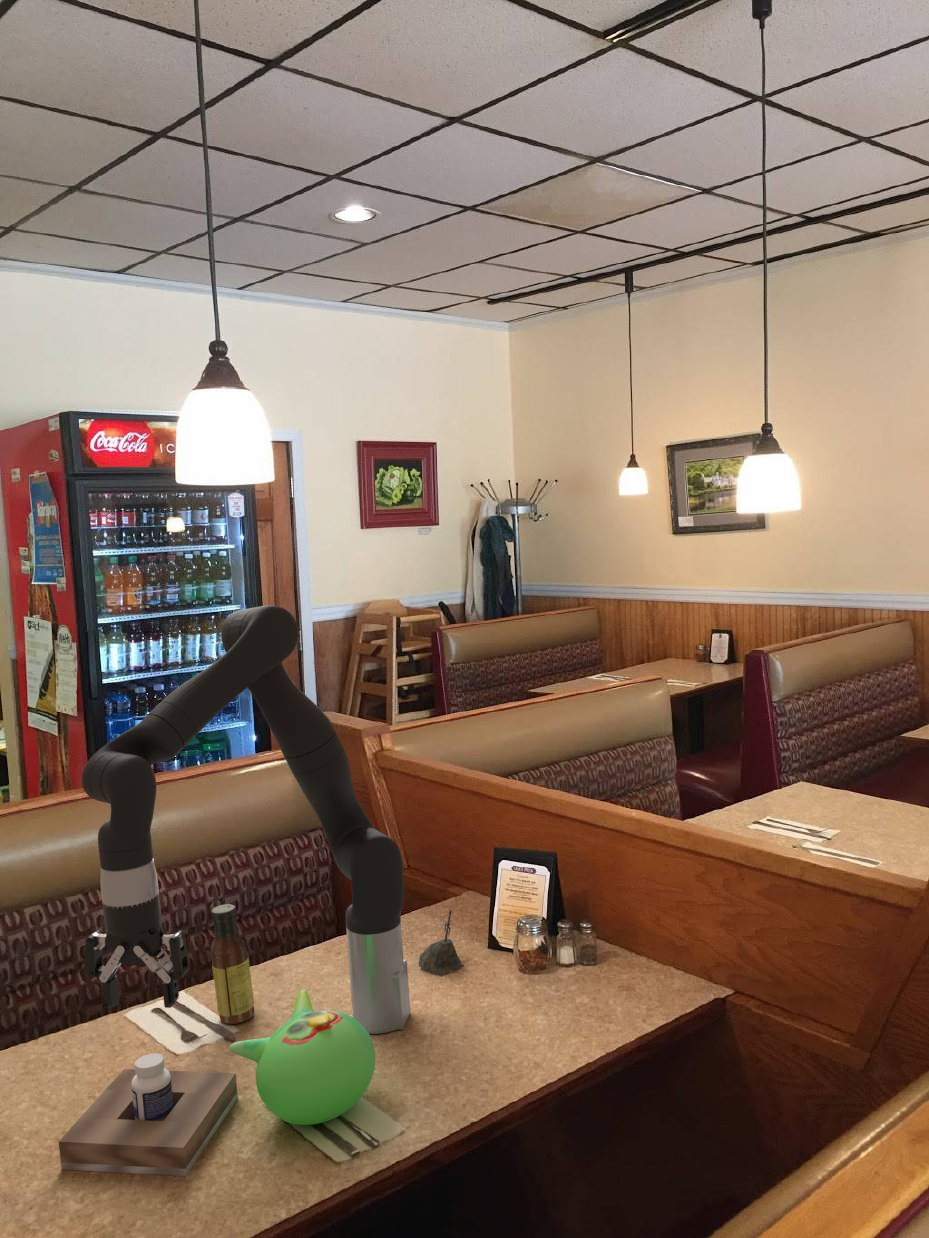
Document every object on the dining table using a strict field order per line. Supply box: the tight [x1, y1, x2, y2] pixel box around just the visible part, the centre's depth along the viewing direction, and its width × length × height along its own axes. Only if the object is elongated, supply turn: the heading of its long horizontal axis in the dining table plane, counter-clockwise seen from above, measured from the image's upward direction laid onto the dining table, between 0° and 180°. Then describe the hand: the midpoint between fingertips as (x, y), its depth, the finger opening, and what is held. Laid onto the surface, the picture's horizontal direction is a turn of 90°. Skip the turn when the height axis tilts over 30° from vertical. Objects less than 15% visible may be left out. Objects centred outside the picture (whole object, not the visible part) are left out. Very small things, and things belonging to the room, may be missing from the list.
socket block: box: [58, 1068, 239, 1177], centre depth 145 cm, size 18×18×4 cm
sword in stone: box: [418, 909, 465, 978], centre depth 194 cm, size 10×8×12 cm
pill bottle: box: [131, 1053, 174, 1121], centre depth 145 cm, size 5×5×10 cm
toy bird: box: [229, 989, 376, 1126], centre depth 148 cm, size 18×17×15 cm
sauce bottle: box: [210, 903, 255, 1025], centre depth 177 cm, size 7×6×20 cm
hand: (142, 1004), depth 144 cm, fingers open, 8 cm apart
